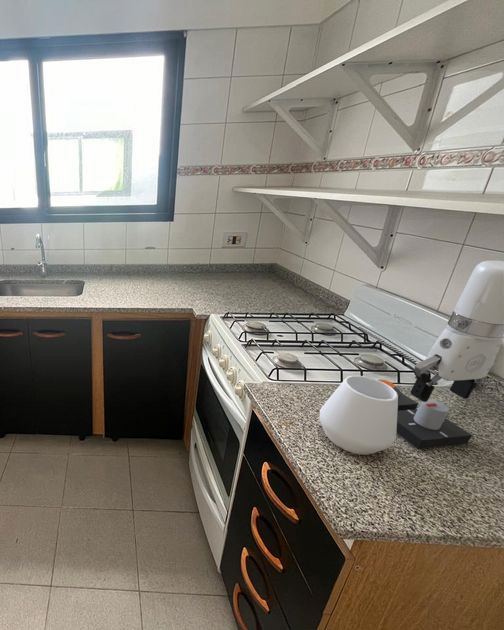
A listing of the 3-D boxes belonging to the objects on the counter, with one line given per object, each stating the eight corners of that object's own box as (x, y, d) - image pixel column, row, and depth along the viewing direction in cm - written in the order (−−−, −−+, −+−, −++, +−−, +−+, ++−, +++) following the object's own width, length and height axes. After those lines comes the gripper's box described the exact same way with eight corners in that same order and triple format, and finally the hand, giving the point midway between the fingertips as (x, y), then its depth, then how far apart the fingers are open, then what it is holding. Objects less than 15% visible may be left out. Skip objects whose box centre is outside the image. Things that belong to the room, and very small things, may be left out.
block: (382, 388, 93) (387, 376, 91) (415, 410, 85) (421, 397, 83) (344, 391, 92) (349, 379, 90) (374, 414, 83) (380, 401, 82)
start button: (383, 384, 88) (385, 378, 88) (396, 393, 85) (399, 387, 84) (370, 385, 88) (373, 380, 87) (383, 394, 85) (386, 388, 84)
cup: (384, 474, 68) (411, 418, 62) (307, 439, 76) (324, 387, 70) (391, 437, 76) (416, 386, 71) (321, 410, 85) (338, 362, 79)
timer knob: (425, 415, 79) (434, 396, 77) (445, 428, 75) (456, 409, 73) (408, 417, 79) (417, 398, 77) (427, 430, 75) (437, 411, 73)
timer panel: (425, 416, 83) (429, 407, 82) (467, 443, 75) (472, 434, 74) (380, 420, 82) (384, 411, 80) (418, 449, 73) (423, 439, 72)
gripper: (458, 336, 63) (420, 410, 70) (539, 331, 65) (493, 404, 72) (417, 318, 70) (386, 388, 77) (491, 315, 71) (454, 383, 78)
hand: (438, 396), depth 74 cm, fingers open, 9 cm apart
